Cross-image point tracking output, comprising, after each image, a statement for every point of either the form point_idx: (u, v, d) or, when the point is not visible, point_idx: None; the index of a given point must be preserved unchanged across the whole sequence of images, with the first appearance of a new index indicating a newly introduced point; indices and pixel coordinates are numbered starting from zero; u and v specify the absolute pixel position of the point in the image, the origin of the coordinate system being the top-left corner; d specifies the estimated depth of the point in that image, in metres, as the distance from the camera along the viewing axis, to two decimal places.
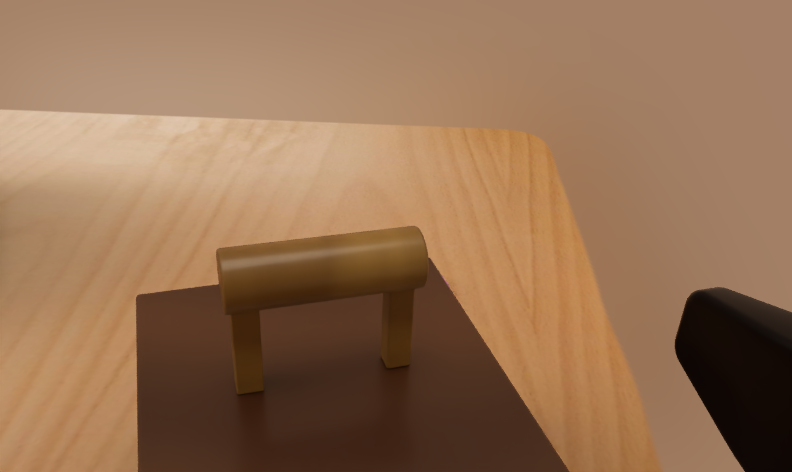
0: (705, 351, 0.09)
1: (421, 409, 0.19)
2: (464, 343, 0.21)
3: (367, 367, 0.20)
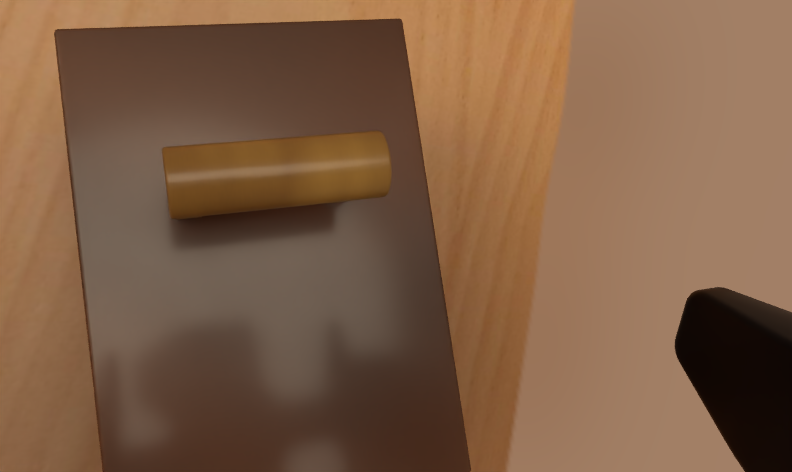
0: (705, 351, 0.09)
1: (347, 261, 0.21)
2: (406, 175, 0.21)
3: None
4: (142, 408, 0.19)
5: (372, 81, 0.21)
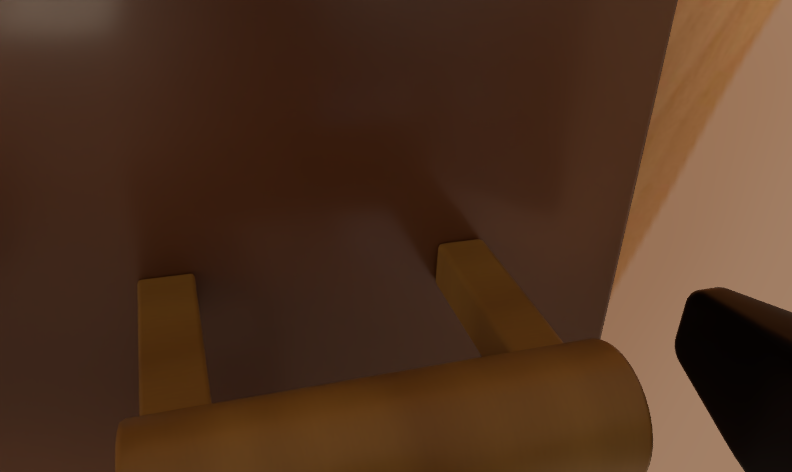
0: (705, 351, 0.09)
1: None
2: (592, 229, 0.11)
3: (402, 272, 0.10)
4: None
5: (591, 40, 0.10)
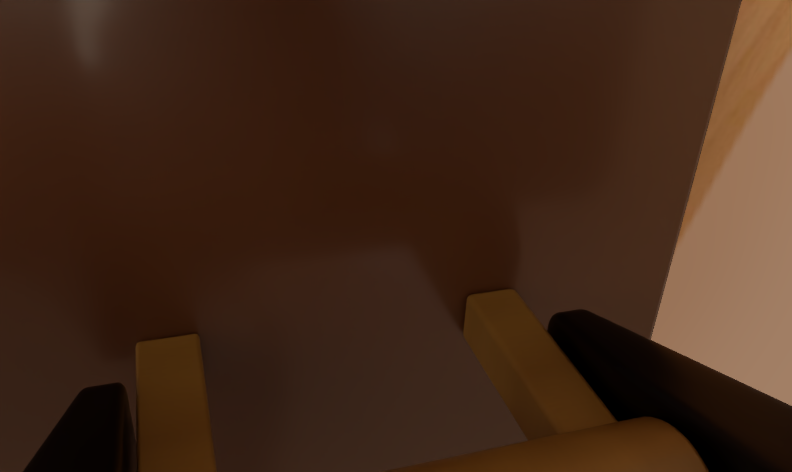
0: None
1: (478, 422, 0.11)
2: (633, 275, 0.10)
3: (427, 325, 0.10)
4: None
5: (639, 74, 0.09)
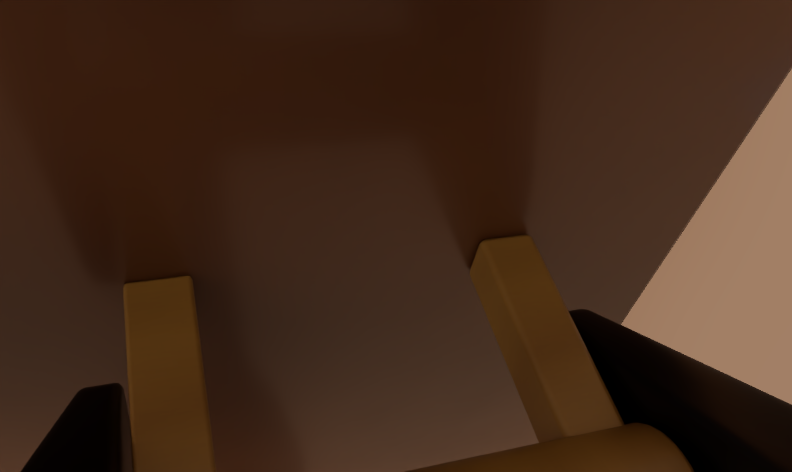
0: None
1: (469, 338, 0.11)
2: (656, 220, 0.10)
3: (434, 265, 0.09)
4: None
5: (723, 33, 0.07)
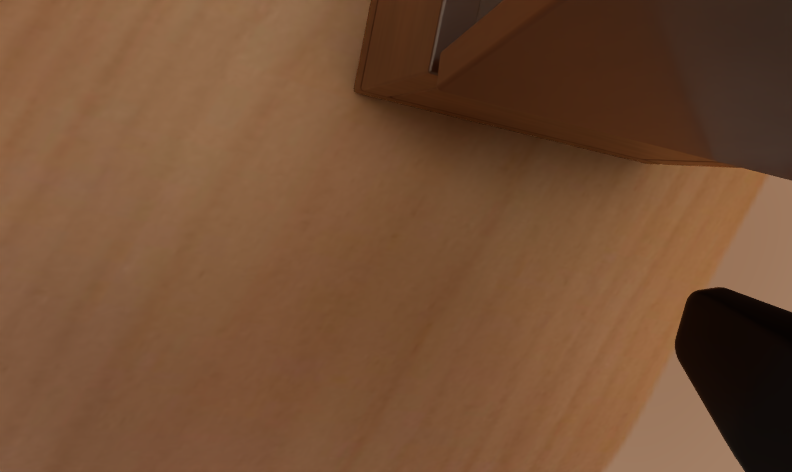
0: (705, 351, 0.09)
1: None
2: None
3: None
4: (590, 43, 0.11)
5: None
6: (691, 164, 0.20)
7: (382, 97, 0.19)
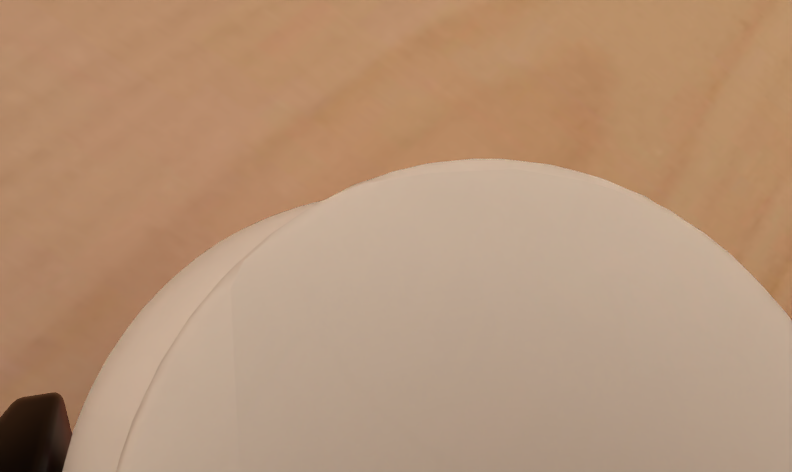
0: None
1: None
2: None
3: None
4: None
5: None
6: None
7: None
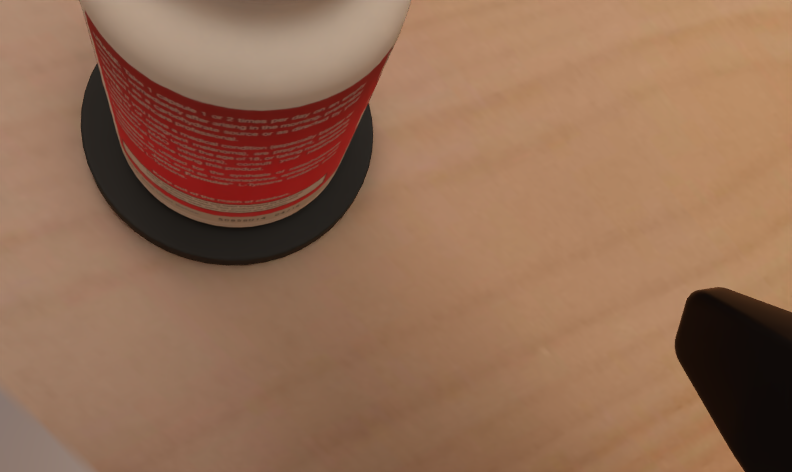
0: (705, 351, 0.09)
1: None
2: None
3: None
4: None
5: None
6: None
7: None
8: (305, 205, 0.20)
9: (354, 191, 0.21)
